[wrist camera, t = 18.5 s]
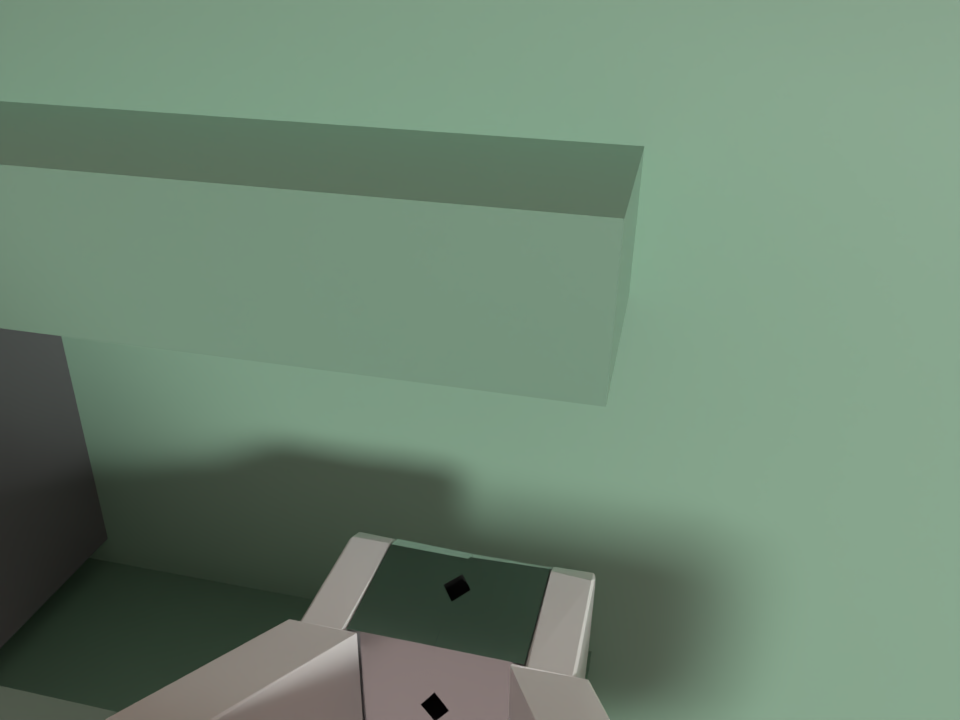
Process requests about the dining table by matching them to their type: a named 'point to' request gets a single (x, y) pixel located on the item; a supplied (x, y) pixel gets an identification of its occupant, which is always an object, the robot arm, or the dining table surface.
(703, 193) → the board
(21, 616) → the labelled grey storage bin
